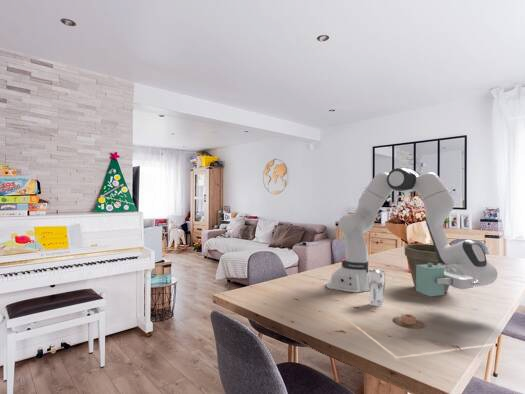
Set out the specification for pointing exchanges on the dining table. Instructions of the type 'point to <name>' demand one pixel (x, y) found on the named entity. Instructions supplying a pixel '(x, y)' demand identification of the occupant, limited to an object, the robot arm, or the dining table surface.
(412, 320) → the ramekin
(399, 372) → the dining table surface
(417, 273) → the teal knobbed box
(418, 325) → the disc
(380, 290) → the shiny silver metal cup
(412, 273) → the plant pot
